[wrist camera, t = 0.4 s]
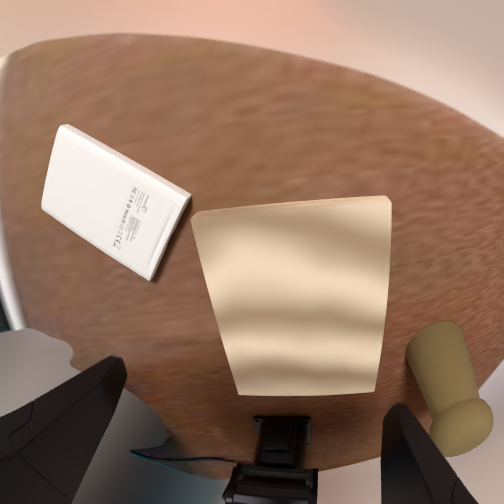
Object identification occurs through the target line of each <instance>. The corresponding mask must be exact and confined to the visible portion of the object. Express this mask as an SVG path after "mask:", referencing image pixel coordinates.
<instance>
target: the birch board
mask: <svg viewBox="0 0 504 504" xmlns="http://www.w3.org/2000/svg"><path fill="white" fill-rule="evenodd" d="M190 220H191V224H192V228H193V232H194V236H195V240H196V244H197V248H198V252H199V256H200V260H201V264H202V268H203V272H204V276H205V280H206V283H207V287H208V291H209V295H210V298H211V302H212V306H213V309H214V313H215V317H216V320H217V324H218V327H219V331H220V334H221V338H222V341H223V345H224V348H225V351H226V355H227V358H228V361H229V365H230V368H231V371H232V375H233V378H234V381H235V384H236V388H237V391H238V394H239V395H257V396H314V395H337V394H353V393H365V392H374V390H375V384H376V379H377V373H378V367H379V361H380V354H381V348H382V341H383V333H384V325H385V316H386V306H387V296H388V284H389V269H390V250H391V201H390V200H389V199H388V198H387V196H368V197H352V198H337V199H323V200H310V201H298V202H286V203H275V204H264V205H254V206H244V207H235V208H225V209H216V210H208V211H199V212H197V213H196V214H195V215H194V216H193V217H192V218H191V219H190Z"/></svg>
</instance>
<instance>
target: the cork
mask: <svg viewBox="0 0 504 504" xmlns="http://www.w3.org/2000/svg"><path fill="white" fill-rule="evenodd" d="M406 359H407V361H408V363H409V366H410V368H411V370H412V372H413V374H414V377H415V379H416V381H417V383H418V386H419V388H420V390H421V393H422V395H423V397H424V400H425V402H426V404H427V407H428V409H429V412H430V414H431V417H432V419H433V422H432V424H431V427H430V432H429V436H430V438H431V439H432V440H433V442H434V443H435V445H436V446H437V447H438V449H439V450H440V452H441V453H442V454H443V456H444V457H452V456H457V455H461V454H464V453H466V452H468V451H470V450H472V449H474V448H476V447H477V446H478V445H480V444H481V443H482V442H483V441H484V440H485V439H486V438H487V437H488V436H489V434H490V432H491V431H492V427H493V413H492V410H491V408H490V406H489V405H488V404H487V403H486V402H485V401H484V400H483V399H480V398H479V393H478V388H477V383H476V379H475V375H474V370H473V366H472V362H471V359H470V355H469V351H468V347H467V344H466V340H465V337H464V334H463V330H462V328H461V327H460V326H459V325H458V324H456V323H453V322H448V321H442V322H438V323H434V324H431V325H429V326H427V327H425V328H423V329H422V330H421V331H420V332H418V333H417V334H416V335H415V336H414V337H413V338H412V340H411V341H410V342H409V344H408V346H407V349H406Z"/></svg>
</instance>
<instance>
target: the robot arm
mask: <svg viewBox="0 0 504 504" xmlns="http://www.w3.org/2000/svg"><path fill="white" fill-rule="evenodd" d="M126 379H127V371H126V368H125V364H124V361H123V359H122V358H121V357H118V356H115V355H110V356H108V357H106V358H105V359H103V360H101V361H100V362H98V363H96V364H95V365H93V366H91V367H90V368H88V369H86V370H84V371H83V372H81V373H79V374H78V375H76V376H74V377H73V378H71V379H69V380H67V381H66V382H64V383H62V384H61V385H59V386H57V387H55V388H54V389H52V390H50V391H49V392H47V393H45V394H43V395H42V396H40V397H38V398H37V399H35V400H34V401H31V402H29V403H28V404H26V405H24V406H22V407H21V408H19V409H17V410H15V411H13V412H11V413H8V414H6V415H4V416H2V417H0V504H72V501H73V500H74V497H75V495H76V493H77V490H78V488H79V486H80V484H81V482H82V480H83V477H84V475H85V473H86V471H87V469H88V466H89V464H90V462H91V460H92V458H93V456H94V454H95V452H96V450H97V447H98V446H99V443H100V441H101V439H102V437H103V435H104V433H105V431H106V429H107V427H108V425H109V423H110V421H111V419H112V417H113V414H114V412H115V409H116V407H117V404H118V401H119V398H120V396H121V393H122V390H123V388H124V385H125V382H126ZM253 423H254V427H255V430H256V433H257V436H258V440H257V445H256V450H255V455H254V460H253V465H250V464H243V463H240V462H238V463H237V466H236V467H234V468H233V471H232V475H231V478H230V481H229V483H228V485H227V487H226V489H225V491H224V493H223V495H222V498H223V500H224V501H225V504H317V489H318V487H317V486H318V468H313V469H304V468H305V458H306V446H307V445H311V419H310V417H274V416H254V417H253ZM381 497H382V498H381V504H478V502H477V501H476V500H475V499H474V497H473V496H472V495H471V494H470V492H469V491H468V490H467V488H466V487H465V486H464V484H463V483H462V482H461V480H460V478H459V477H457V475H456V473H455V471H454V470H453V469H452V467H451V466H450V464H449V463H448V462H447V460H446V459H445V457H444V456H443V454H442V453H441V452H440V450H439V449H438V447H437V446H436V445H435V443H434V442H433V440H432V439H431V438H430V436H429V435H428V433H427V432H426V431H425V429H424V428H423V427H422V425H421V424H420V422H419V421H418V420H417V418H416V417H415V416H414V414H413V413H412V411H411V410H410V409H409V407H408V406H407V405H406V404H405V403H394V404H393V405H392V406H391V408H390V409H389V411H388V412H387V414H386V415H385V417H384V420H383V431H382V448H381Z"/></svg>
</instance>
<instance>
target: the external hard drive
mask: <svg viewBox="0 0 504 504" xmlns="http://www.w3.org/2000/svg"><path fill="white" fill-rule="evenodd" d="M190 197H191V194H190V193H188V192H186V191H185V190H183V189H181V188H180V187H178V186H176V185H174V184H173V183H171V182H169V181H167V180H166V179H164V178H162V177H160V176H159V175H157V174H155V173H153V172H152V171H150V170H148V169H147V168H145V167H143V166H142V165H140V164H138V163H136V162H135V161H133V160H131V159H129V158H128V157H126V156H124V155H122V154H121V153H119V152H117V151H115V150H113V149H112V148H110V147H108V146H106V145H105V144H103V143H101V142H99V141H97V140H96V139H94V138H92V137H90V136H89V135H87V134H85V133H83V132H81V131H80V130H78V129H76V128H74V127H72V126H71V125H69V124H66V125H61V126H60V127H59V129H58V132H57V135H56V139H55V142H54V146H53V150H52V154H51V159H50V163H49V167H48V172H47V176H46V181H45V187H44V192H43V197H42V205H41V207H42V209H43V210H44V211H45V212H47V213H48V214H49V215H51V216H52V217H54V218H55V219H56V220H58V221H59V222H61V223H62V224H63V225H65V226H66V227H68V228H69V229H71V230H72V231H73V232H75V233H76V234H78V235H79V236H81V237H82V238H84V239H85V240H87V241H88V242H90V243H91V244H93V245H94V246H96V247H97V248H99V249H100V250H102V251H103V252H105V253H106V254H108V255H109V256H111V257H112V258H114V259H115V260H117V261H118V262H120V263H122V264H123V265H125V266H126V267H128V268H130V269H131V270H133V271H134V272H136V273H138V274H139V275H141V276H142V277H144V278H145V279H147V280H149V281H150V280H151V279H152V278H153V276H154V274H155V272H156V270H157V267H158V265H159V263H160V261H161V259H162V256H163V254H164V252H165V250H166V247H167V243H168V241H169V239H170V237H171V235H172V233H173V232H174V230H175V228H176V226H177V224H178V222H179V220H180V218H181V216H182V214H183V212H184V210H185V208H186V206H187V203H188V201H189V199H190Z"/></svg>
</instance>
